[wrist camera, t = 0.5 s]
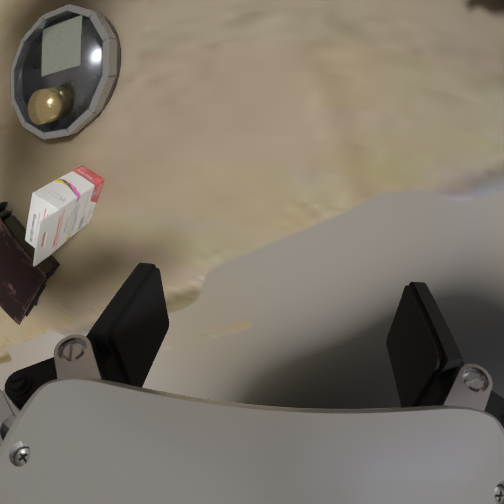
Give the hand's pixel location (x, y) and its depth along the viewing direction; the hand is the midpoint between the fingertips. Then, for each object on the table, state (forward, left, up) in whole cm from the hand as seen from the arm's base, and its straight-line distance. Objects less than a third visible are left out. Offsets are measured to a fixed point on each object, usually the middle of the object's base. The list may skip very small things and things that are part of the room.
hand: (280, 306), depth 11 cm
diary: (+23, -55, -31) cm, 67 cm away
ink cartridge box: (+7, -30, -30) cm, 43 cm away
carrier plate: (-13, -32, -30) cm, 46 cm away
